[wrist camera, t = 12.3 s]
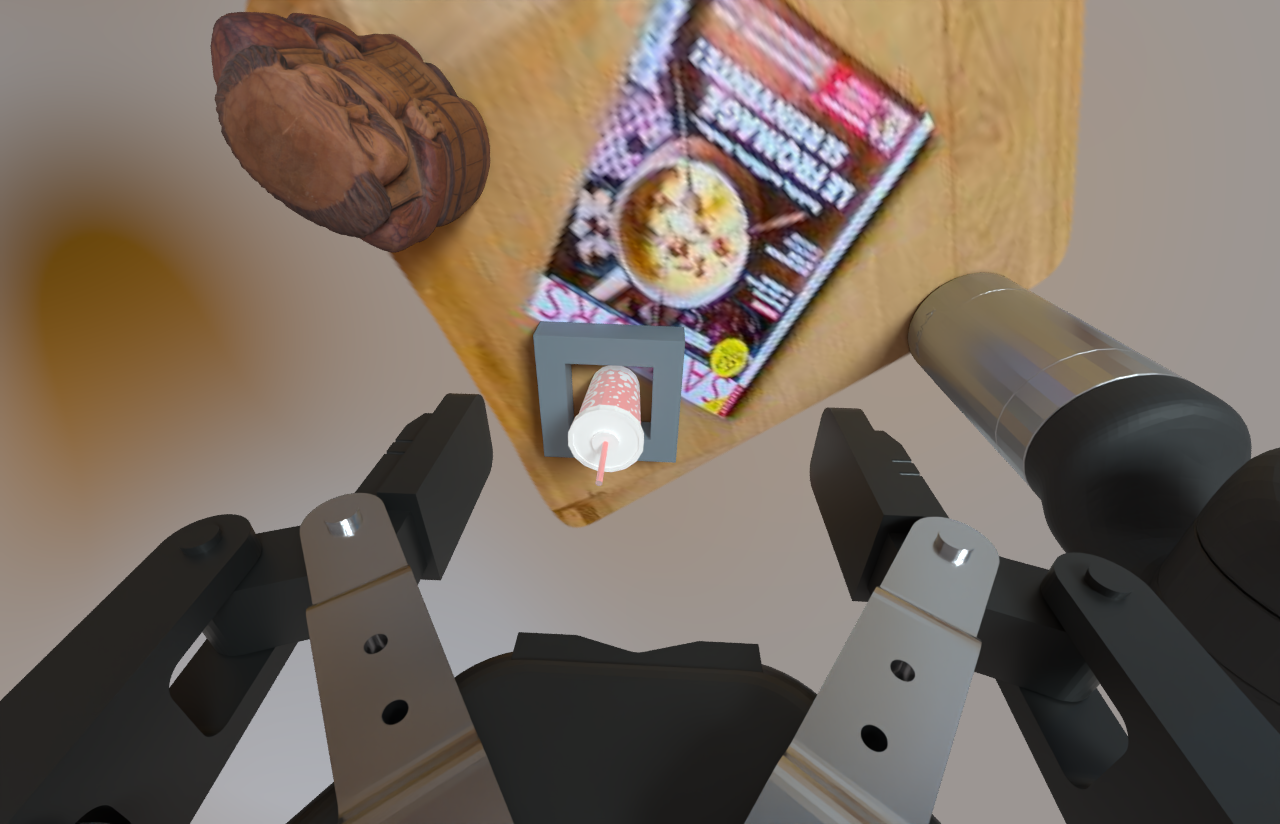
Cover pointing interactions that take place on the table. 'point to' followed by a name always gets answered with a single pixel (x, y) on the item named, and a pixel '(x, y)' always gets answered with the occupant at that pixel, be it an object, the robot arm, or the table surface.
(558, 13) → the table surface
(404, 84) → the wooden figurine
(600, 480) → the beverage cup
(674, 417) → the hole plate
